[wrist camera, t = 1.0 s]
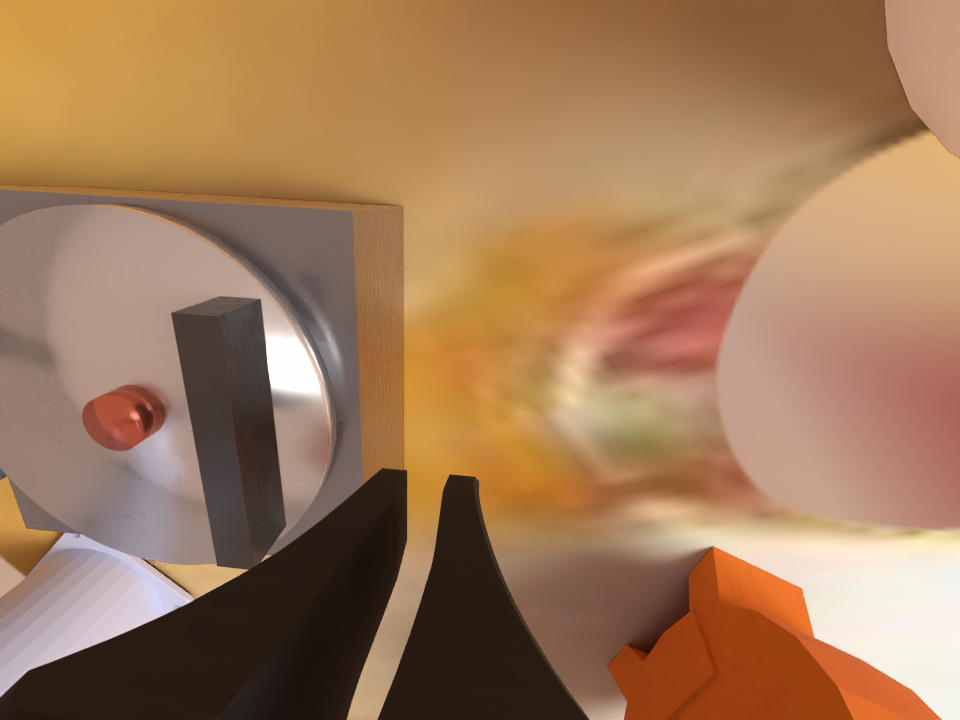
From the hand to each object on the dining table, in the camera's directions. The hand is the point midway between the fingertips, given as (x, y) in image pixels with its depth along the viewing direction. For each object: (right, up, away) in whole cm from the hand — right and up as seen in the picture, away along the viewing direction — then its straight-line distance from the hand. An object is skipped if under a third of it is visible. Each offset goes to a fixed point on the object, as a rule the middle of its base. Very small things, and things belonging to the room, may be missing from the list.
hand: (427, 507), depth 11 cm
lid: (-10, +2, +5) cm, 11 cm away
